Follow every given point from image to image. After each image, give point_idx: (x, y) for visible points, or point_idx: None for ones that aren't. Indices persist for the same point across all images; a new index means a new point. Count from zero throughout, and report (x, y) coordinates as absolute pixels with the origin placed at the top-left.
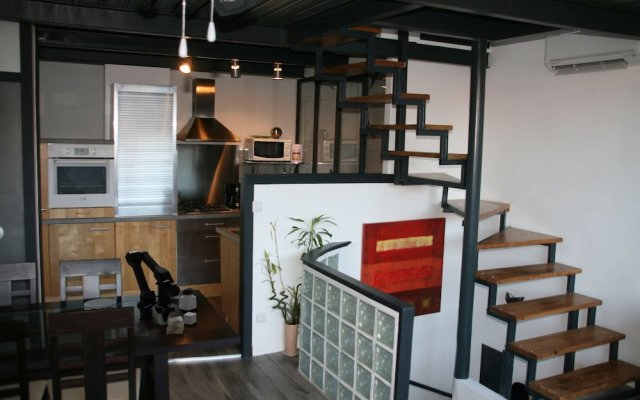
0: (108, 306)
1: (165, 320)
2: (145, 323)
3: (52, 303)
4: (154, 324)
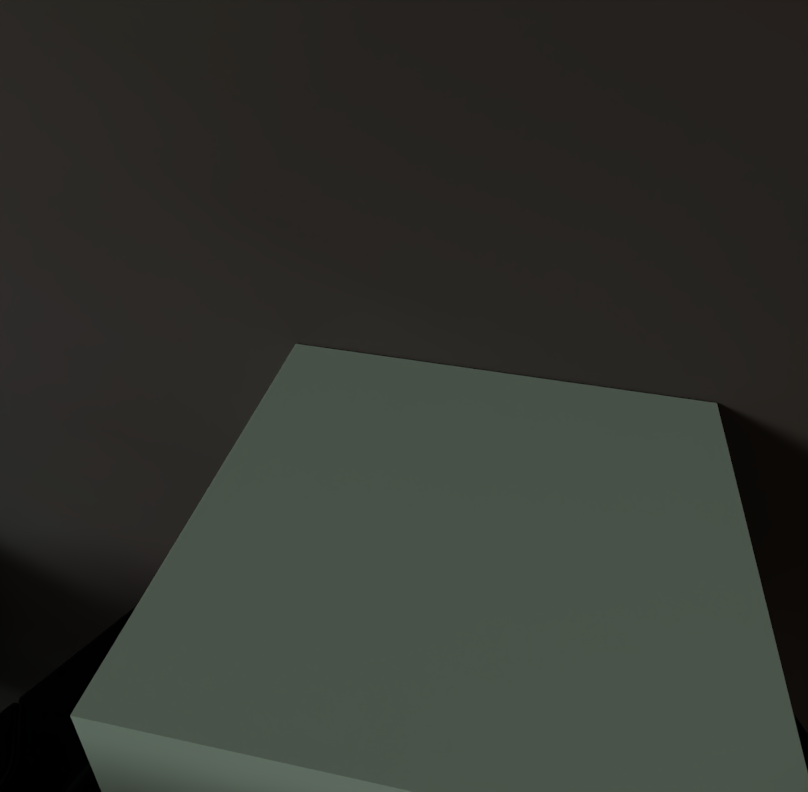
0: None
1: None
2: None
3: None
4: None
